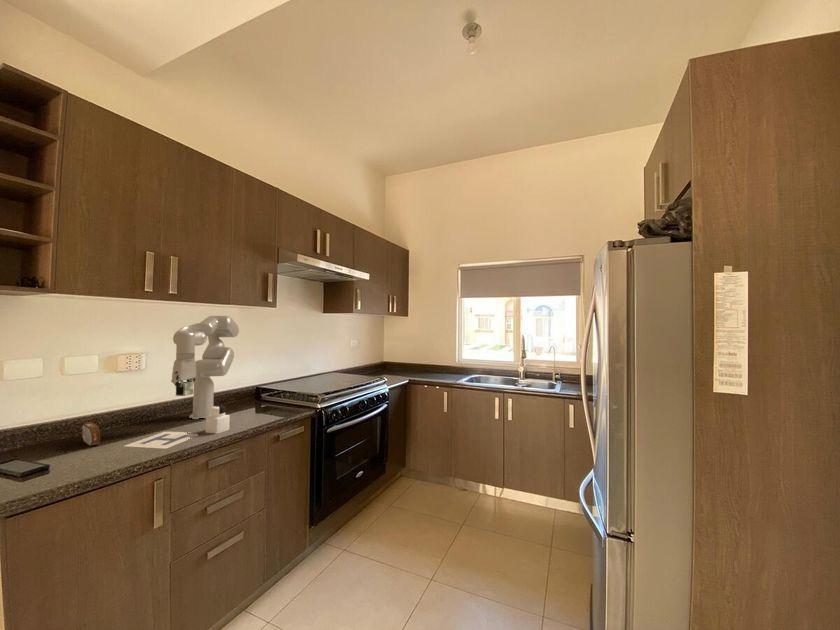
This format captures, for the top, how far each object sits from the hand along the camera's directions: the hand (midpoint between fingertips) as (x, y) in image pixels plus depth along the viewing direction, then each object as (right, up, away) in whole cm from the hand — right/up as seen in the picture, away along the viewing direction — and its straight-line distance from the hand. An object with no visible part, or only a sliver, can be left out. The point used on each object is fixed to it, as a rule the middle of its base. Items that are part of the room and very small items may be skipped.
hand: (184, 393), depth 165 cm
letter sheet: (+4, -17, -17) cm, 24 cm away
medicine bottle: (+20, -17, -5) cm, 27 cm away
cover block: (0, -1, 0) cm, 1 cm away
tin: (-24, -16, -23) cm, 37 cm away
